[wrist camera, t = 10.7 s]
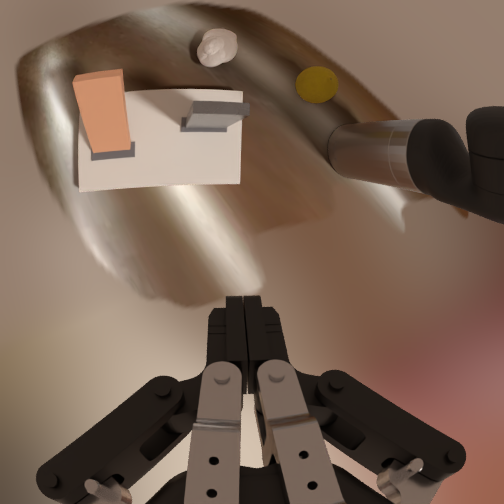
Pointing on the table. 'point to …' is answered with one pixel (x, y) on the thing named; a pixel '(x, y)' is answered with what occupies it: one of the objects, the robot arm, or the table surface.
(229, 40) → the dumpling
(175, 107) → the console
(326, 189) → the table surface
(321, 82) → the lemon
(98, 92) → the terracotta paddle
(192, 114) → the grey paddle
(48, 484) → the robot arm
